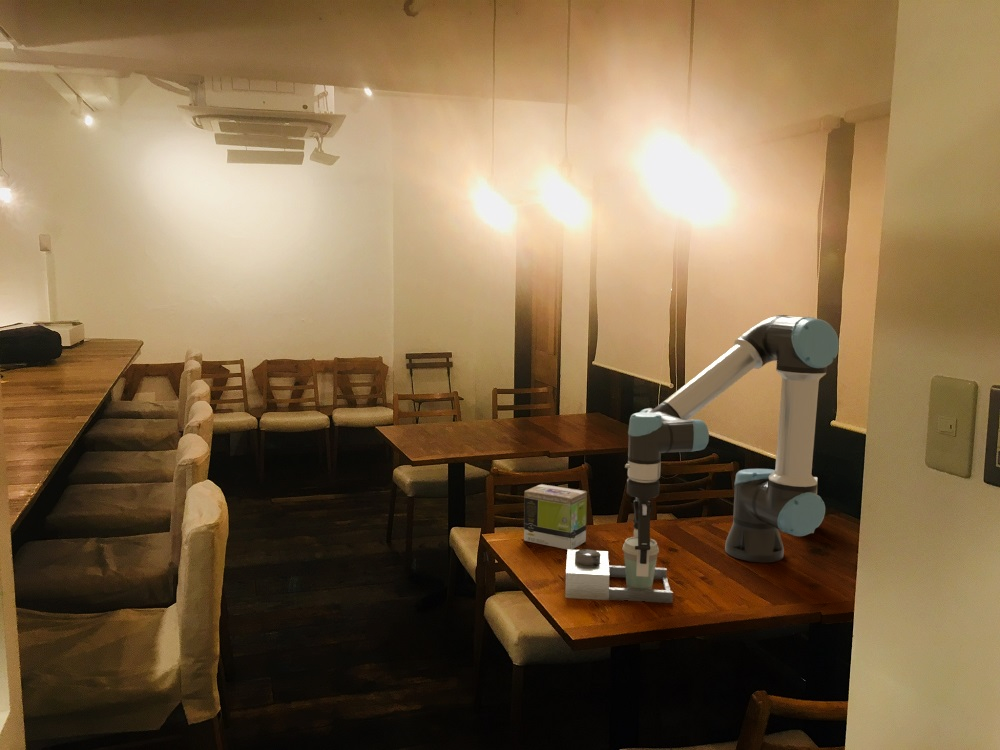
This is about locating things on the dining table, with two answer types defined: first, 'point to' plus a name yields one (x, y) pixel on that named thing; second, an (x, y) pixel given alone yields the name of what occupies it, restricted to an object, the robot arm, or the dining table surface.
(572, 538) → the tea box
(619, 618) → the dining table surface
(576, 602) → the dining table surface
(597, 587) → the button box with rail
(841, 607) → the dining table surface
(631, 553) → the coffee cup
